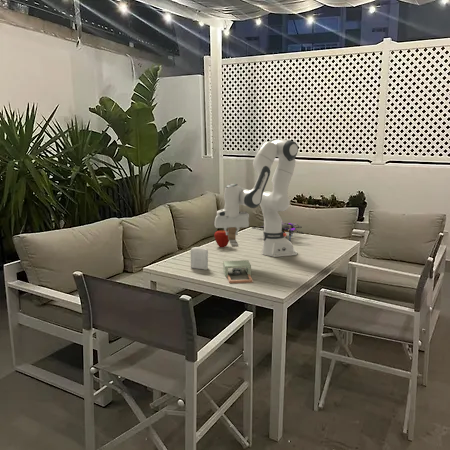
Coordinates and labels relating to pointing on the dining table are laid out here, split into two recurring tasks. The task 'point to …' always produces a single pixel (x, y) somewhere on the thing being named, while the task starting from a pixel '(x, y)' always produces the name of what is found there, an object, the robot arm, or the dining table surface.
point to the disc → (236, 271)
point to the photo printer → (199, 258)
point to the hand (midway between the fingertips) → (231, 234)
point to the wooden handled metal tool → (232, 236)
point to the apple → (221, 238)
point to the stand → (236, 266)
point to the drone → (286, 228)
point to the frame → (240, 280)
